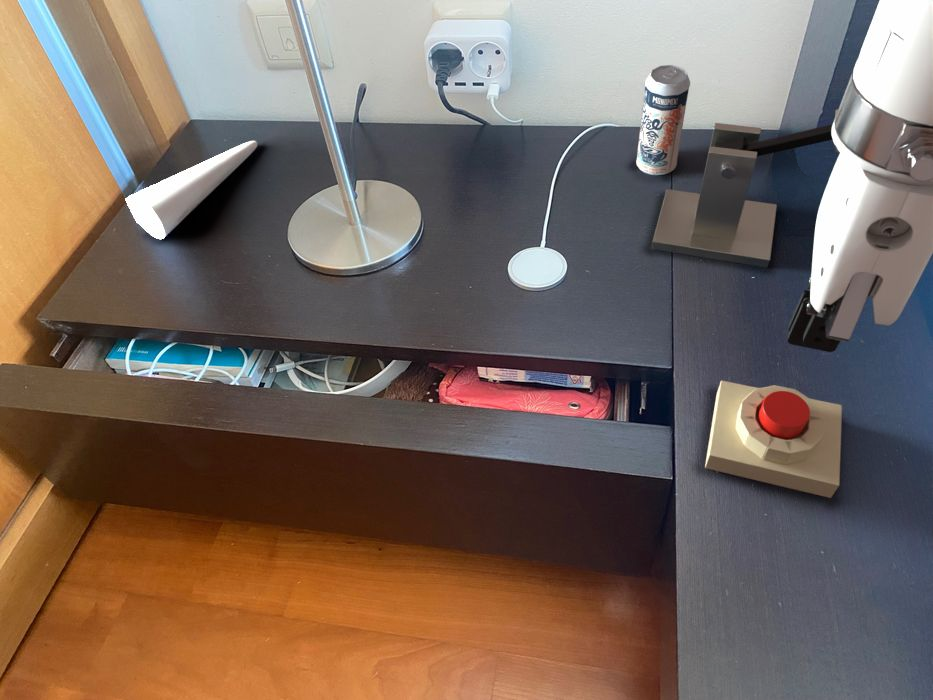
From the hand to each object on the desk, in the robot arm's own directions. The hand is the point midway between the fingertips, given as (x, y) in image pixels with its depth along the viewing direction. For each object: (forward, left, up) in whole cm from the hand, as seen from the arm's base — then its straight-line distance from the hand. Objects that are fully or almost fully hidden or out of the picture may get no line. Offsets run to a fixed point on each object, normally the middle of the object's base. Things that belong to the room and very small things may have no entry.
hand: (810, 339), depth 52 cm
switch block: (0, 0, -14) cm, 14 cm away
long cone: (+68, -19, -14) cm, 72 cm away
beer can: (+16, -36, -14) cm, 42 cm away
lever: (+3, -26, -3) cm, 26 cm away
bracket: (+8, -26, -14) cm, 30 cm away
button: (0, 0, -10) cm, 10 cm away
